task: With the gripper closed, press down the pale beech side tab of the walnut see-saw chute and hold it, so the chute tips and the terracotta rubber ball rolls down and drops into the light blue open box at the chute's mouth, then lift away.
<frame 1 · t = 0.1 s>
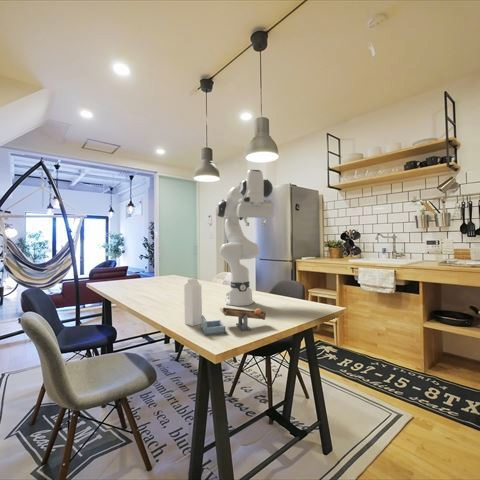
hand: (255, 226, 145), 48 cm above the table, fingers open, 8 cm apart
milk: (193, 323, 134), on the table
light blue open box: (213, 330, 122), on the table
pivot stand: (242, 327, 126), on the table
lever: (242, 312, 129), point 6 cm above the table, hinge at -11.0°, touching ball
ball: (257, 312, 129), point 6 cm above the table, tilted 7°, touching lever
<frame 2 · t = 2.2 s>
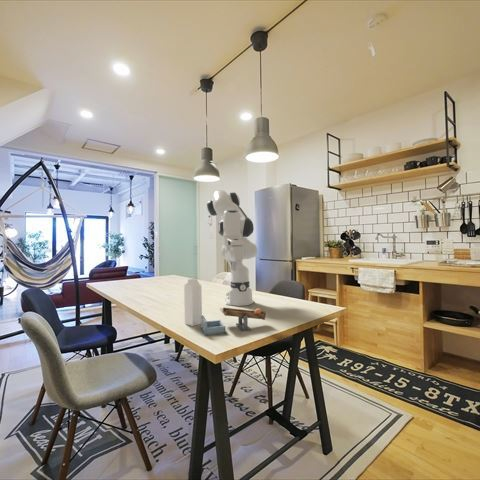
hand: (233, 270, 134), 26 cm above the table, fingers closed
nothing on the table moved.
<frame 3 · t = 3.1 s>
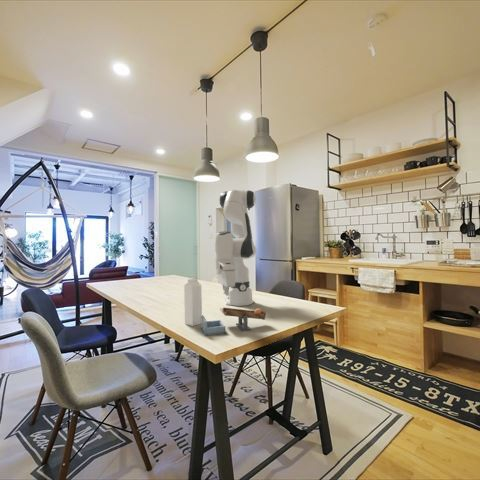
hand: (226, 294, 130), 15 cm above the table, fingers closed
nothing on the table moved.
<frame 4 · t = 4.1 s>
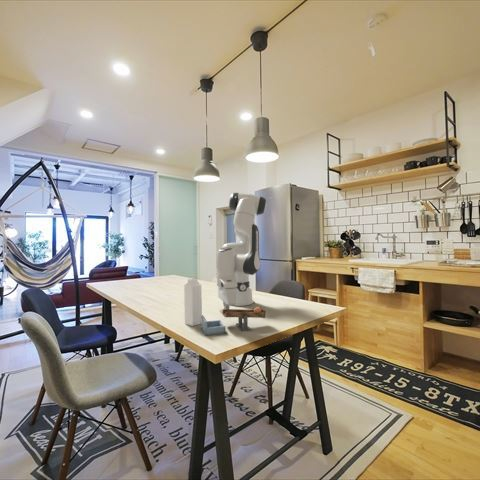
hand: (226, 310, 130), 7 cm above the table, fingers closed, pressing on lever
lever: (242, 312, 129), point 6 cm above the table, hinge at -5.9°, touching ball, gripper
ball: (257, 310, 129), point 7 cm above the table, touching lever
everything else where it was.
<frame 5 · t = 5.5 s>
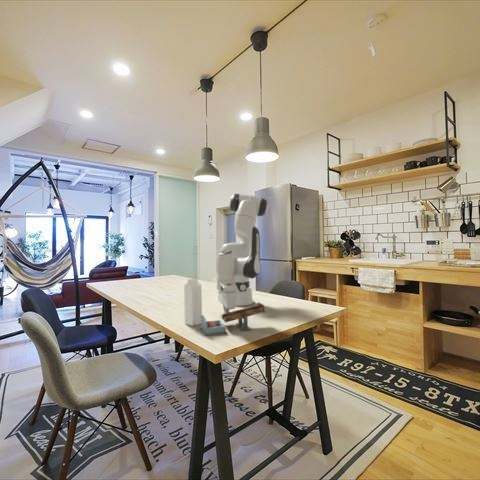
hand: (226, 314, 130), 5 cm above the table, fingers closed, pressing on lever
lever: (241, 311, 129), point 6 cm above the table, hinge at 9.1°, touching gripper
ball: (212, 325, 122), point 3 cm above the table, tilted 61°, touching light blue open box
everything else where it was.
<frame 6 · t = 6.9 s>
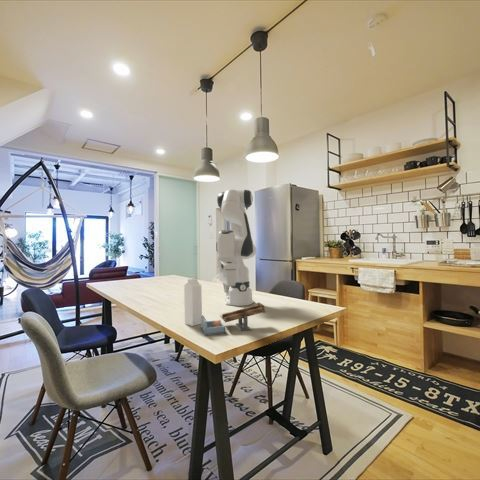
hand: (226, 292, 131), 15 cm above the table, fingers closed
lever: (241, 311, 129), point 6 cm above the table, hinge at 9.1°
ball: (217, 324, 123), point 3 cm above the table, tilted 14°, touching light blue open box
everything else where it was.
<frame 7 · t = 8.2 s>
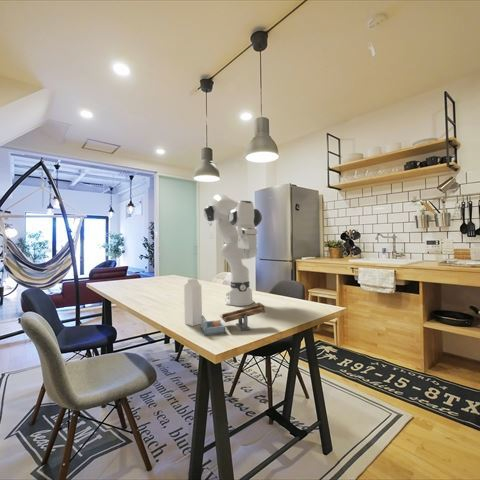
hand: (246, 258, 142), 31 cm above the table, fingers closed
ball: (216, 324, 123), point 3 cm above the table, touching light blue open box
everything else where it was.
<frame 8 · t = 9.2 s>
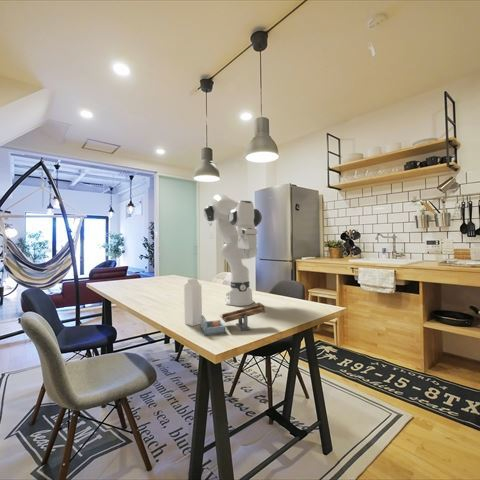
hand: (246, 258, 142), 31 cm above the table, fingers closed
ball: (215, 324, 123), point 3 cm above the table, tilted 8°, touching light blue open box
everything else where it was.
at the end: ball inside the target area on the light blue open box (1.2 cm from its centre), point 2.5 cm above the light blue open box's base; lever at +9° (first picture: -11°) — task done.
